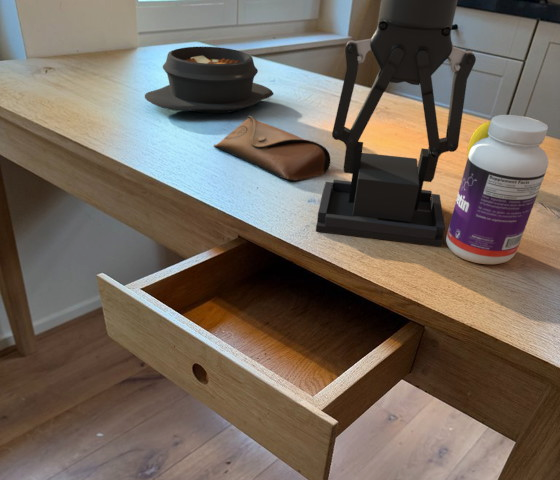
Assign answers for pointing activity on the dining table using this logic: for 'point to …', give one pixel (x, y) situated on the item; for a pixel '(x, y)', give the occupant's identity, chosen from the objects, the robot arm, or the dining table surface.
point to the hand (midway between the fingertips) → (382, 201)
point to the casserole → (209, 81)
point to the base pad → (340, 219)
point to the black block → (386, 187)
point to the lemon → (479, 135)
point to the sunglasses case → (276, 150)
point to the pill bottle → (498, 190)
